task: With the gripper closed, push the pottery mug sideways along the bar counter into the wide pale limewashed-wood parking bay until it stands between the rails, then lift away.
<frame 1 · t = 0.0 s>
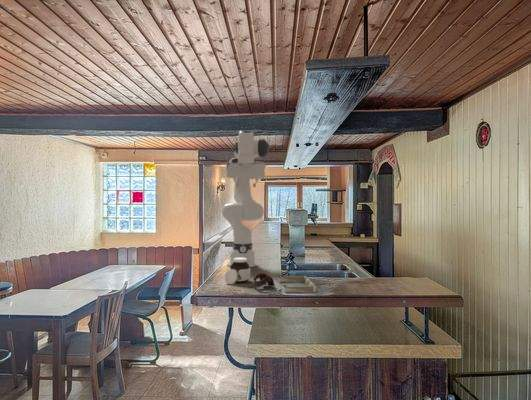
hand: (245, 186, 186), 48 cm above the worktop, fingers open, 8 cm apart
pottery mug: (264, 288, 164), on the worktop
bay: (294, 286, 167), on the worktop
spread jar: (237, 282, 174), on the worktop
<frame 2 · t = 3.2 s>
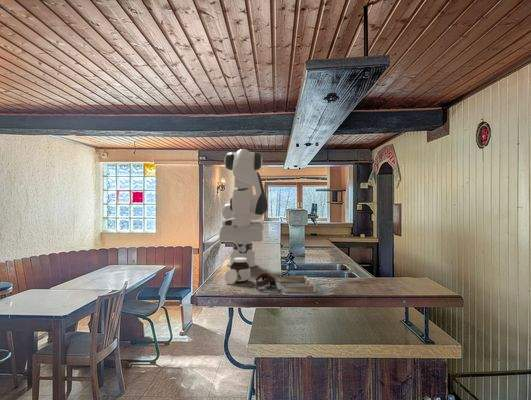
hand: (240, 251, 163), 17 cm above the worktop, fingers closed
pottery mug: (266, 288, 164), on the worktop
everything else where it was.
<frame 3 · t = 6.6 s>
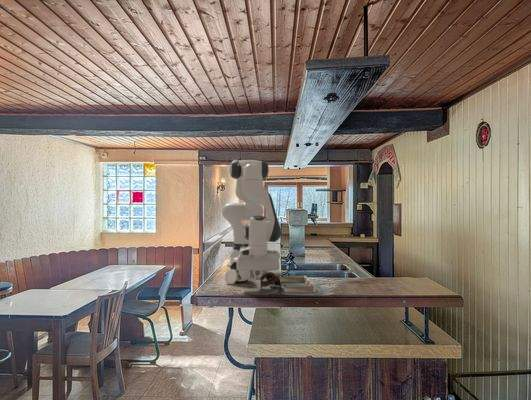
hand: (257, 279, 164), 4 cm above the worktop, fingers closed
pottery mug: (270, 288, 164), on the worktop, touching gripper
everything else where it was.
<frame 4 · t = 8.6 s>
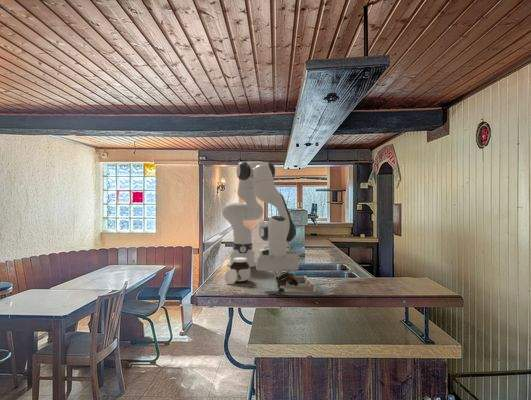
hand: (276, 279, 165), 3 cm above the worktop, fingers closed
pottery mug: (288, 288, 163), on the worktop, touching bay, gripper
everything else where it was.
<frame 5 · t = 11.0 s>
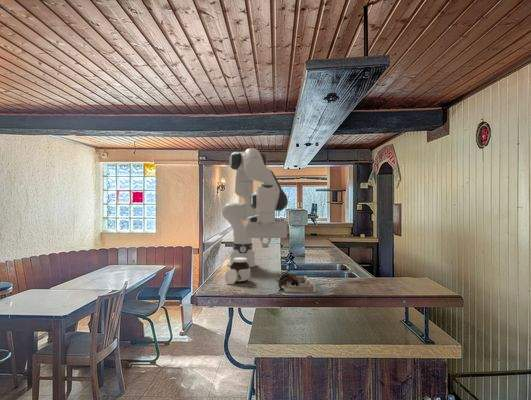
hand: (265, 247, 165), 19 cm above the worktop, fingers closed
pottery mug: (289, 289, 163), on the worktop
everything else where it was.
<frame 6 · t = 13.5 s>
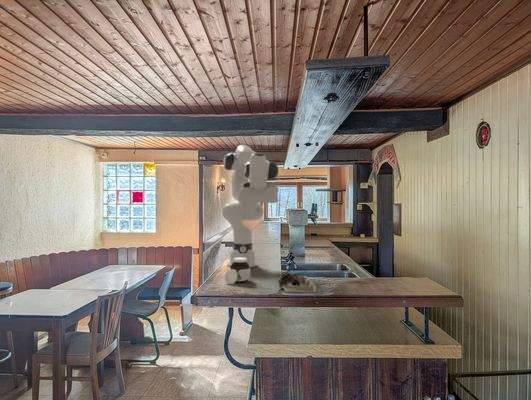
hand: (257, 211, 179), 35 cm above the worktop, fingers closed
nothing on the worktop moved.
at the end: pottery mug inside the target area on the bay (4.3 cm from its centre), point 0.0 cm above the bay's base; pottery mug moved 12.7 cm from its start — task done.
